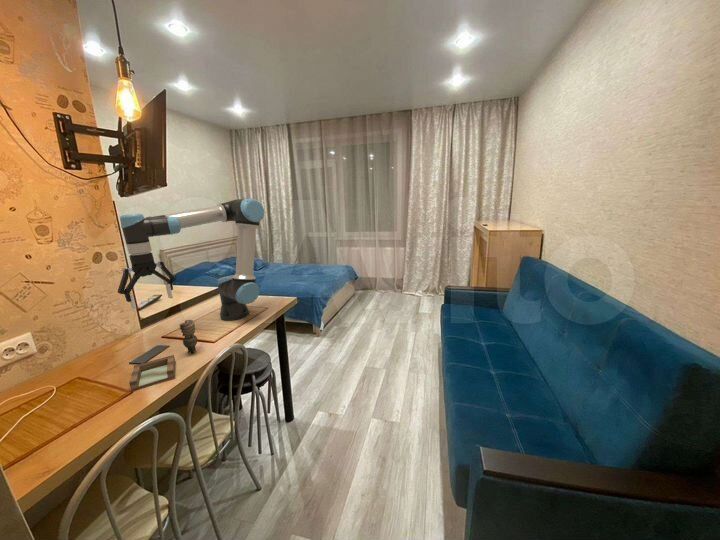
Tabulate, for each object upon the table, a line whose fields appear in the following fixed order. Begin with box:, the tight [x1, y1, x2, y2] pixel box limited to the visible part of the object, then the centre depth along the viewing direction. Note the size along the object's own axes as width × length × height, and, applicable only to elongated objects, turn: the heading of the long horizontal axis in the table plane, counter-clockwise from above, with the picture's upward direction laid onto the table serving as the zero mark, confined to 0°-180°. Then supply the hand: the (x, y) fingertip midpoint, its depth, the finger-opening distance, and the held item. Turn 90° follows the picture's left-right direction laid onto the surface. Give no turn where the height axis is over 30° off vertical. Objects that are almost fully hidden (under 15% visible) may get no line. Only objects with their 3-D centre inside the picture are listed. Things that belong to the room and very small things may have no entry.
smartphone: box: [128, 344, 171, 365], centre depth 125 cm, size 7×1×15 cm
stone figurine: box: [179, 319, 198, 354], centre depth 123 cm, size 6×6×15 cm
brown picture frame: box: [128, 354, 177, 392], centre depth 109 cm, size 13×13×4 cm
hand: (153, 303), depth 121 cm, fingers open, 13 cm apart
